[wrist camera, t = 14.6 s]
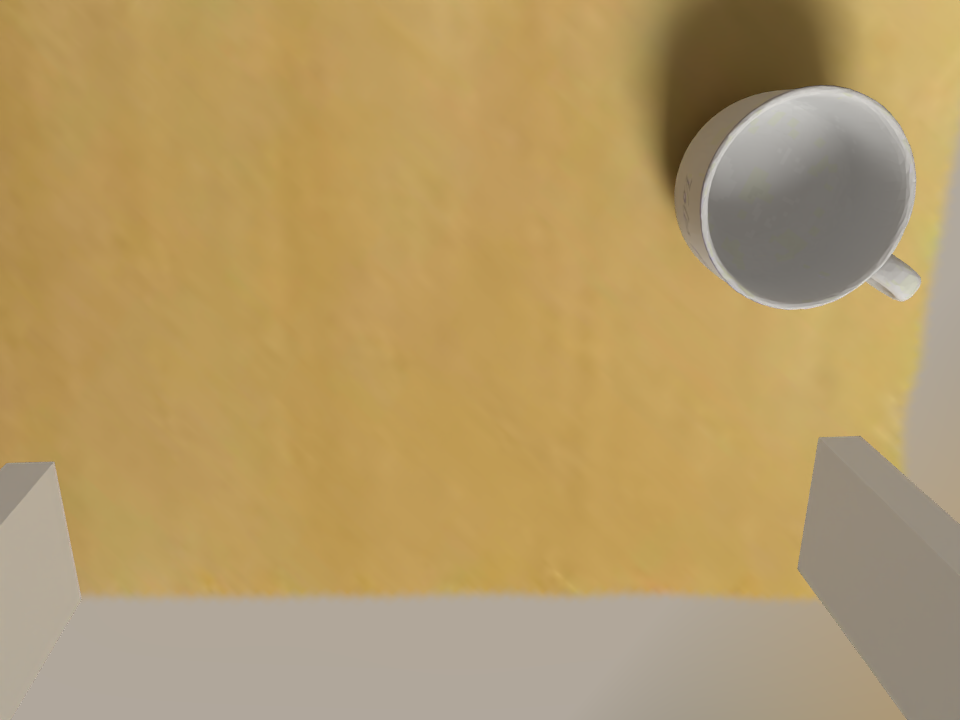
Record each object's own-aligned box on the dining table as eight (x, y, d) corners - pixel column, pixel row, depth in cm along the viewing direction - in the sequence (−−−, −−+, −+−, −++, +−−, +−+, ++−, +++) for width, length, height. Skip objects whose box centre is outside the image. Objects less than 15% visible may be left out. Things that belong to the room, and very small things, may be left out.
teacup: (620, 176, 48) (656, 200, 40) (773, 35, 45) (841, 34, 38) (763, 342, 52) (821, 392, 44) (909, 220, 50) (996, 252, 42)
